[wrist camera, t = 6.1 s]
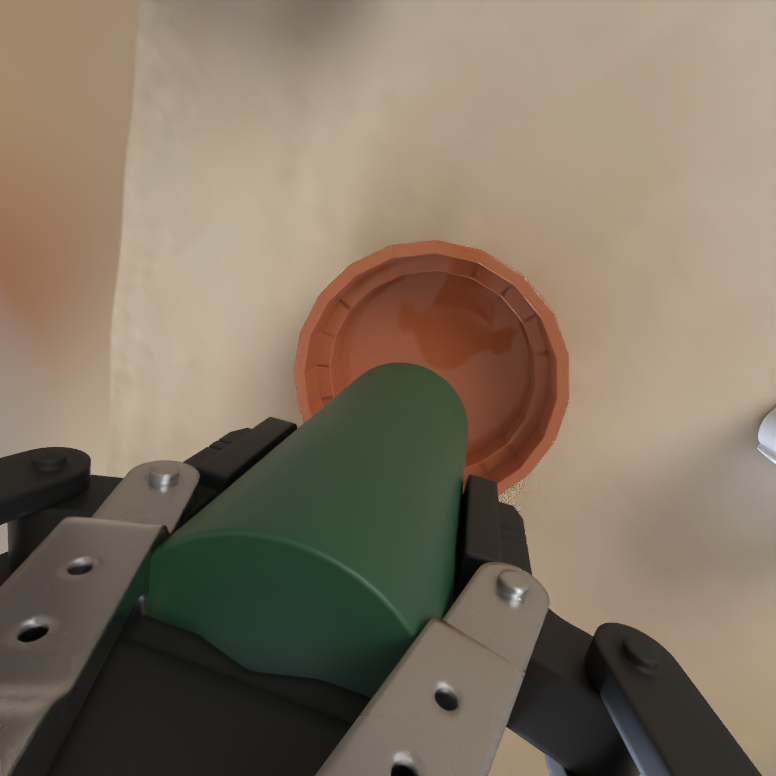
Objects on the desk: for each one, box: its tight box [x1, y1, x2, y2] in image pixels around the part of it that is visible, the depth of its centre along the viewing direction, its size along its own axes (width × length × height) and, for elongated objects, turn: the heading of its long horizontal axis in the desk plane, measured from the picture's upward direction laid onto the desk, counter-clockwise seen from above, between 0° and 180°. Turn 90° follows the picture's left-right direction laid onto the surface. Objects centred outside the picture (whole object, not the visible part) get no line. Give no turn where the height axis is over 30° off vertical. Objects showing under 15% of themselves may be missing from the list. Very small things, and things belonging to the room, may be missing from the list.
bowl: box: [294, 240, 569, 495], centre depth 25 cm, size 14×14×4 cm
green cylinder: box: [147, 362, 468, 698], centre depth 11 cm, size 5×5×11 cm
